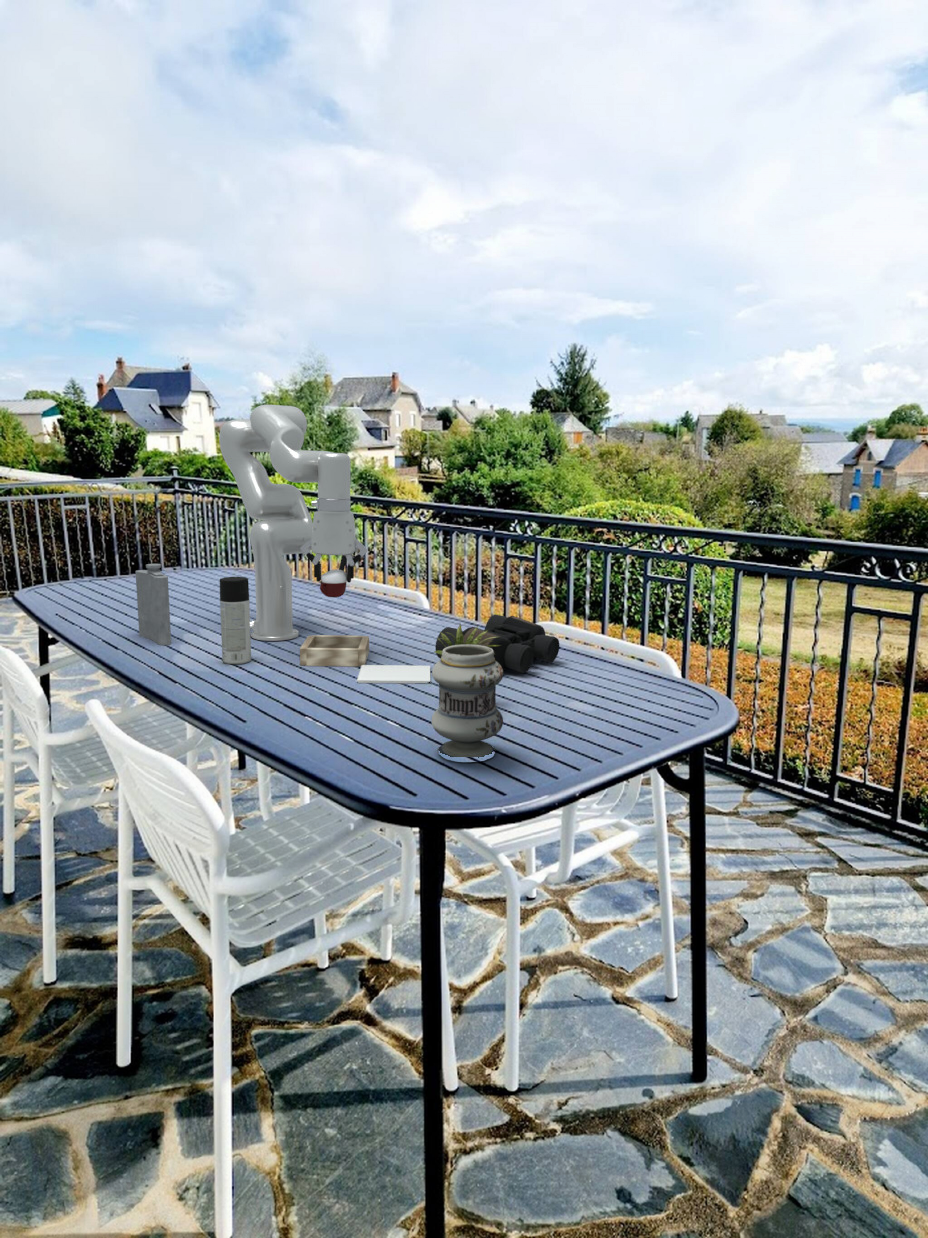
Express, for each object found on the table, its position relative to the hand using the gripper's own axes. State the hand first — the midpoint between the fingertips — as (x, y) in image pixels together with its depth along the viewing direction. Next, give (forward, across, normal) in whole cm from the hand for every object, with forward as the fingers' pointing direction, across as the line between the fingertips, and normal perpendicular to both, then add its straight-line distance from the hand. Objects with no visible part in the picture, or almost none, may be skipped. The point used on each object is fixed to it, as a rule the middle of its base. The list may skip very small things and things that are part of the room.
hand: (334, 580), depth 192 cm
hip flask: (+20, -48, +17) cm, 55 cm away
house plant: (+18, +30, -37) cm, 51 cm away
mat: (+19, +16, -16) cm, 29 cm away
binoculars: (+19, +42, -3) cm, 46 cm away
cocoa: (+4, 0, 0) cm, 4 cm away
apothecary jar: (+18, +30, -64) cm, 72 cm away
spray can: (+20, -22, -5) cm, 30 cm away
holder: (+19, +1, -1) cm, 19 cm away
